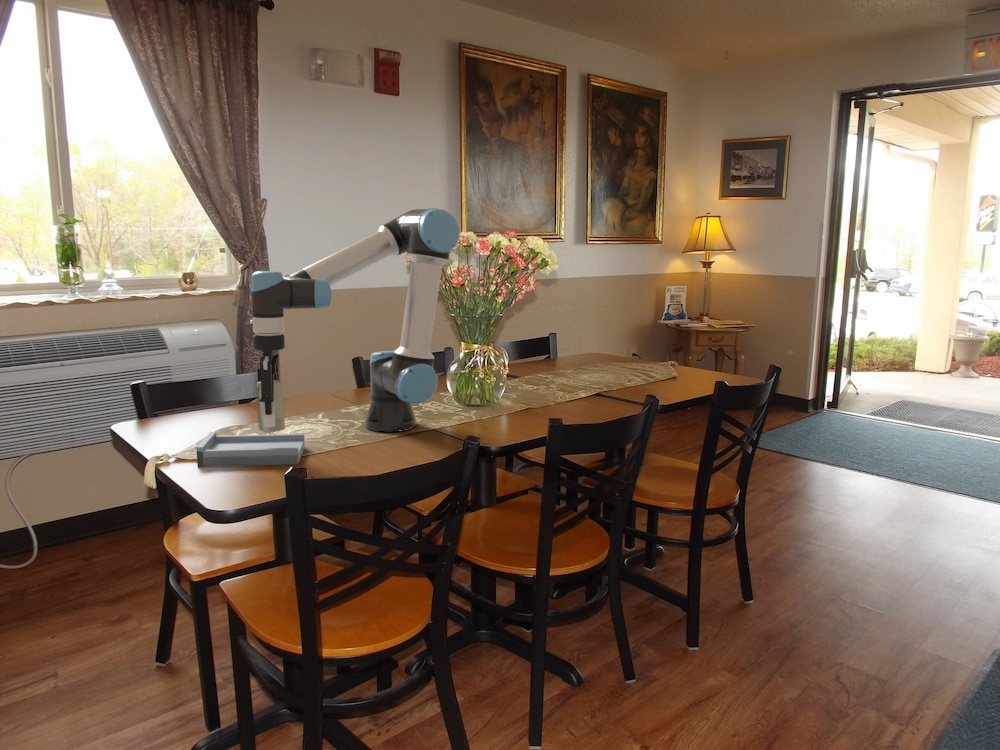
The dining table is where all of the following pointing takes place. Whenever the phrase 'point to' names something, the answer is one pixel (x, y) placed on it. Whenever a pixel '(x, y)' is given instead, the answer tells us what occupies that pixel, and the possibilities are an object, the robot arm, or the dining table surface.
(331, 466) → the dining table surface
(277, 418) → the box
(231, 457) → the blue-grey tray
